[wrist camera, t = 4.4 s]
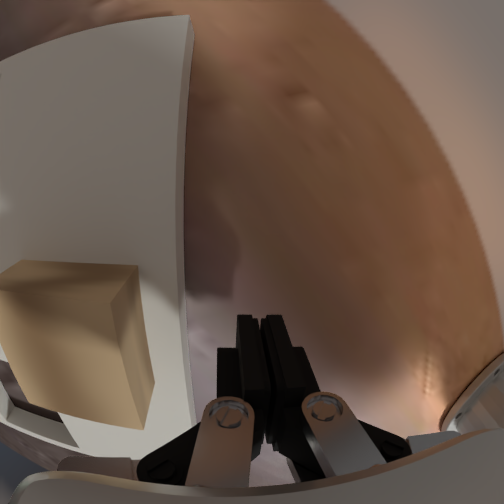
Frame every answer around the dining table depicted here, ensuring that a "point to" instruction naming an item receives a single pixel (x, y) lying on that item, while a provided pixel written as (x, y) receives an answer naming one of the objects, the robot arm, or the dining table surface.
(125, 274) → the block
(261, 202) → the dining table surface
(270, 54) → the dining table surface
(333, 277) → the dining table surface
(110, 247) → the board
